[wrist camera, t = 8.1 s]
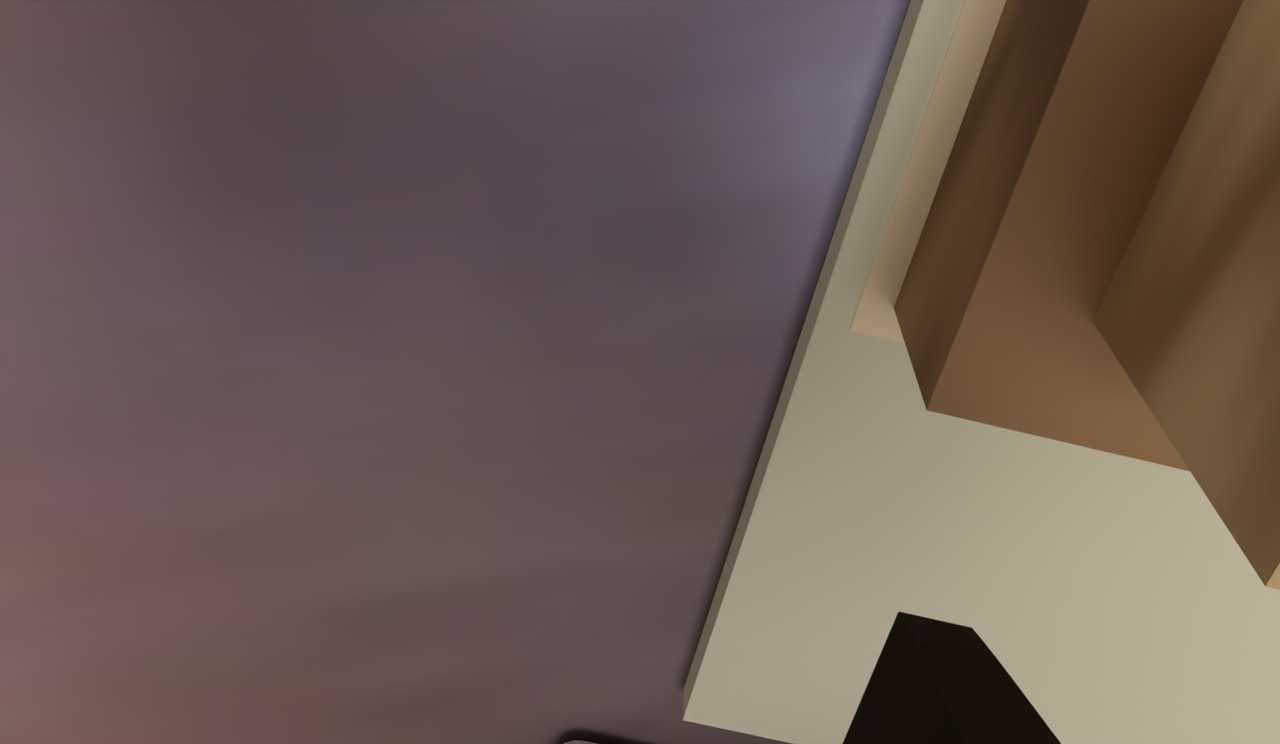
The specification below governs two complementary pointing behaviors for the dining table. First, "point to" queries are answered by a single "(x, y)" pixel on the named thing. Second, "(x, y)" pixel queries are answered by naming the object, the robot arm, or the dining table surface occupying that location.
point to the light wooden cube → (1216, 290)
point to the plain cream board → (964, 505)
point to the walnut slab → (1053, 216)
